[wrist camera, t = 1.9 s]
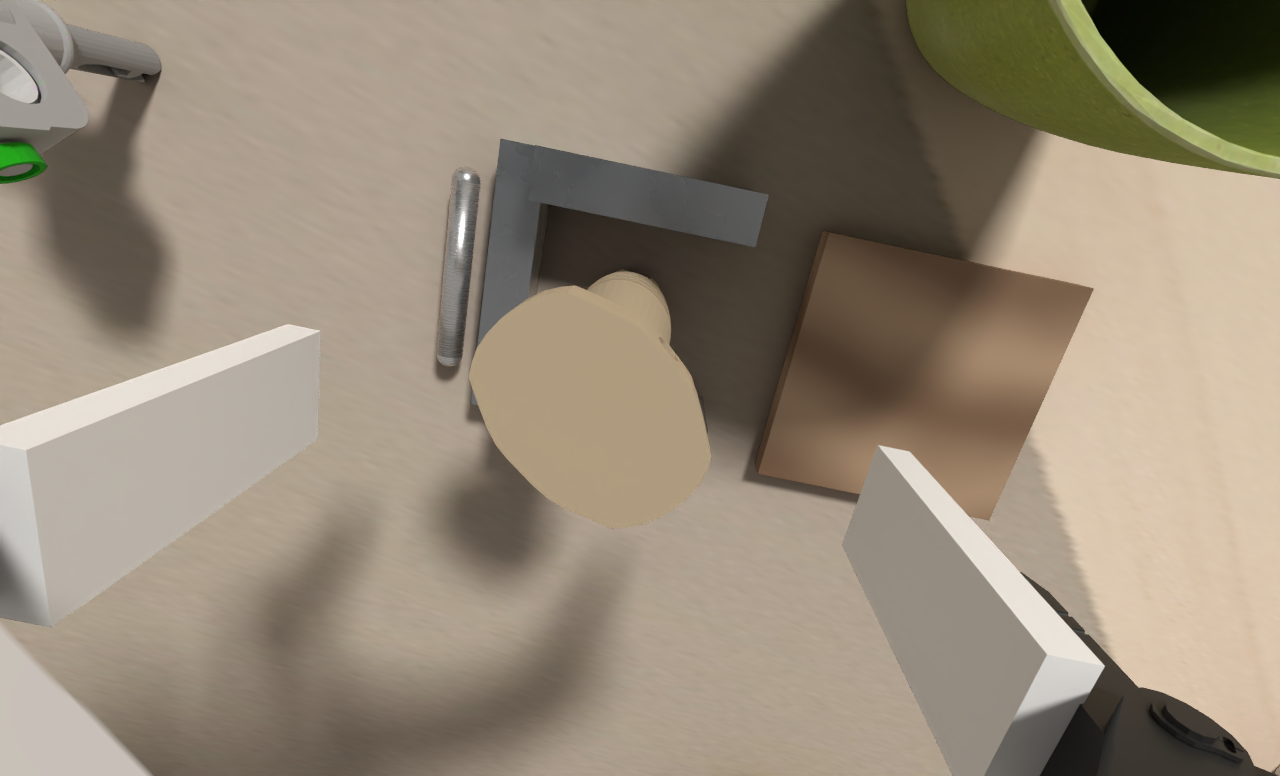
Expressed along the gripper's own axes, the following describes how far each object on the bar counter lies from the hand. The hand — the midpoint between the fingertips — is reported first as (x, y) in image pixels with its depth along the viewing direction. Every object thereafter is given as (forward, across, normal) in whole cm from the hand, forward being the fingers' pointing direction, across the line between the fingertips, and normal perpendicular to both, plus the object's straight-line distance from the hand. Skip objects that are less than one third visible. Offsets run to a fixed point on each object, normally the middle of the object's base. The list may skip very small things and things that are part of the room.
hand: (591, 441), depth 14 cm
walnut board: (+16, +14, -1) cm, 21 cm away
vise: (+16, -2, 0) cm, 16 cm away
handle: (+16, 0, 0) cm, 16 cm away
